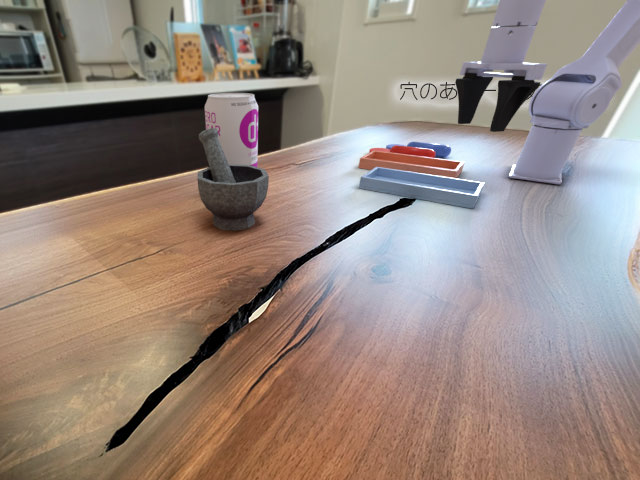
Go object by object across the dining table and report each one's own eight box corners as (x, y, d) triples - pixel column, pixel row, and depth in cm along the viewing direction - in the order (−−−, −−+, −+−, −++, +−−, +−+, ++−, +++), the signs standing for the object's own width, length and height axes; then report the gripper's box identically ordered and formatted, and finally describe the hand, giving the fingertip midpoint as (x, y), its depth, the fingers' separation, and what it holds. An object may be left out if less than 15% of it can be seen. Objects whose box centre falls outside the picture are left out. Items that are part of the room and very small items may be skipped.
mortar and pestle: (280, 223, 51) (285, 132, 45) (230, 242, 47) (227, 143, 40) (230, 203, 59) (228, 122, 52) (182, 218, 54) (173, 130, 47)
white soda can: (265, 190, 64) (268, 93, 55) (240, 204, 58) (239, 99, 49) (227, 183, 67) (224, 91, 59) (200, 196, 62) (192, 96, 53)
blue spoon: (451, 155, 83) (454, 143, 81) (446, 160, 79) (450, 147, 78) (388, 148, 90) (391, 137, 88) (382, 152, 86) (384, 140, 85)
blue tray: (374, 177, 70) (376, 166, 68) (480, 194, 61) (485, 182, 60) (358, 188, 64) (360, 176, 63) (472, 208, 55) (477, 196, 54)
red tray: (371, 159, 81) (373, 150, 79) (461, 172, 72) (464, 161, 71) (358, 167, 75) (359, 157, 74) (453, 182, 66) (457, 171, 65)
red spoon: (435, 160, 80) (439, 147, 78) (430, 164, 76) (434, 152, 75) (372, 152, 87) (374, 140, 85) (365, 156, 83) (367, 144, 82)
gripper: (456, 29, 59) (431, 121, 66) (531, 24, 47) (491, 136, 55) (493, 29, 60) (465, 119, 67) (576, 24, 48) (531, 134, 56)
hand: (479, 127), depth 61 cm, fingers open, 7 cm apart
